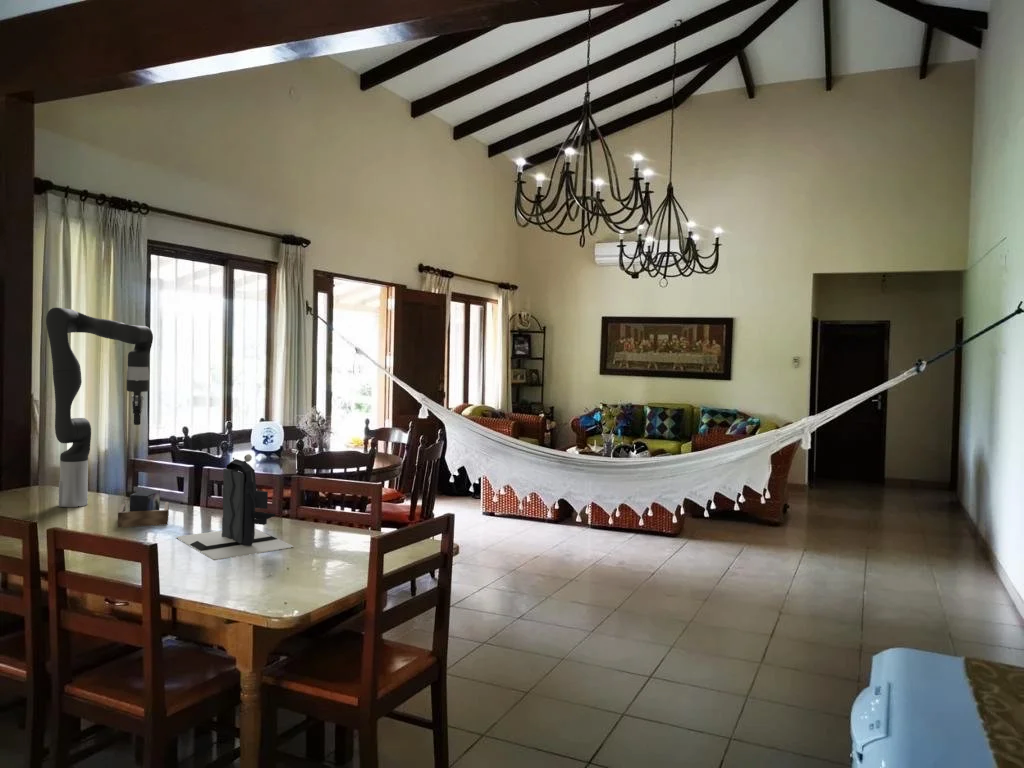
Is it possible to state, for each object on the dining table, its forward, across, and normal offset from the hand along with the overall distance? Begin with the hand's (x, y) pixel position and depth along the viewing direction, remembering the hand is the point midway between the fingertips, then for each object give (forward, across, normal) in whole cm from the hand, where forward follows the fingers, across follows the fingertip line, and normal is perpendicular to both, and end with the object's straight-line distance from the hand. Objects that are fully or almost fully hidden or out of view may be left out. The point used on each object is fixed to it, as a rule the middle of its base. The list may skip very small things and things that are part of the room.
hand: (137, 424), depth 286 cm
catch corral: (+32, +22, +4) cm, 39 cm away
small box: (+32, +23, +4) cm, 40 cm away
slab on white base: (+32, +61, +32) cm, 76 cm away
